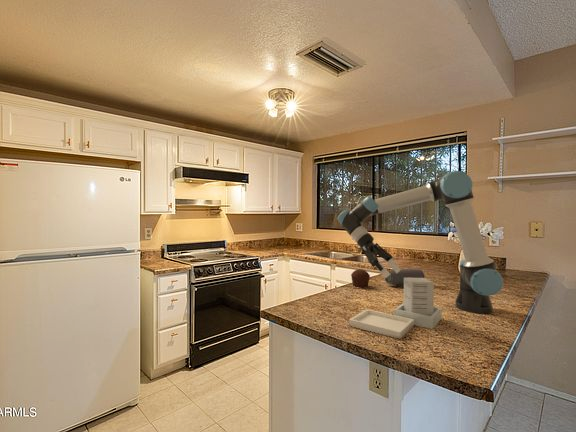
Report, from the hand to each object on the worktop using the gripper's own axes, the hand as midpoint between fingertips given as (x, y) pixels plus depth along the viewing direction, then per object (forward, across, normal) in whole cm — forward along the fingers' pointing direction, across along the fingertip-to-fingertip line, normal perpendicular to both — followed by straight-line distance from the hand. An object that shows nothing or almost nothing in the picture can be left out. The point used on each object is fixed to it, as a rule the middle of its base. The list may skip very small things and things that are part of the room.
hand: (393, 273), depth 135 cm
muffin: (-11, -38, -37) cm, 54 cm away
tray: (+14, +17, -12) cm, 25 cm away
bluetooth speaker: (+3, -58, -22) cm, 62 cm away
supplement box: (+20, 0, -5) cm, 21 cm away
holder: (+20, 0, -5) cm, 21 cm away
